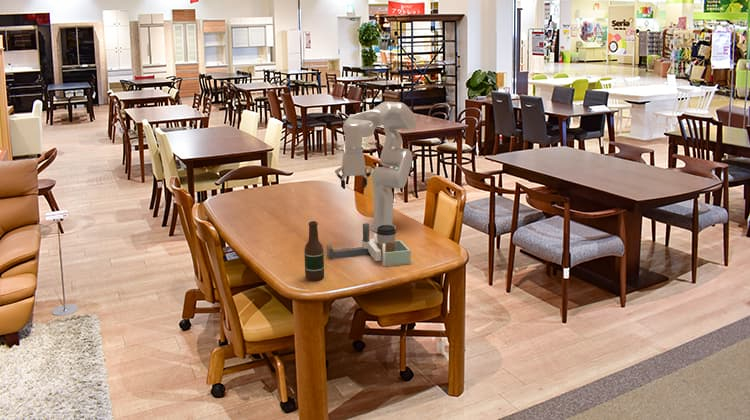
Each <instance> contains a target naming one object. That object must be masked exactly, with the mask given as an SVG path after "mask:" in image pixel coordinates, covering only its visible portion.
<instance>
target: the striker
mask: <svg viewBox="0 0 750 420" xmlns="http://www.w3.org/2000/svg"><path fill="white" fill-rule="evenodd" d="M370 230H371V228H370V223H363V224H362V239H361V247H363V248H364V249H368V252H369V253H370V254H371V255H370V256H371V257H372V258H373V260H374V261H375V262H378V261H379V262H381V250H380V249H379V248H378V247H377V245H376V244H375V243H374V238H370V233H371V232H370Z"/></svg>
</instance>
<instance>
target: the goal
mask: <svg viewBox="0 0 750 420" xmlns="http://www.w3.org/2000/svg"><path fill="white" fill-rule="evenodd" d="M373 239H374V243H375V244H376V245H377V247H378V237H377V233H373ZM411 253H412V252H411V249H410V248H409V247H408V246H407V245H406V243H404V242H403V241H402V240H398V239H397V240H395V250H394V252H385V244H383V262H382V267H383V268H385V267H393V266H402V264H403V265H409V263H411V257H412V256H411Z"/></svg>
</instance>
